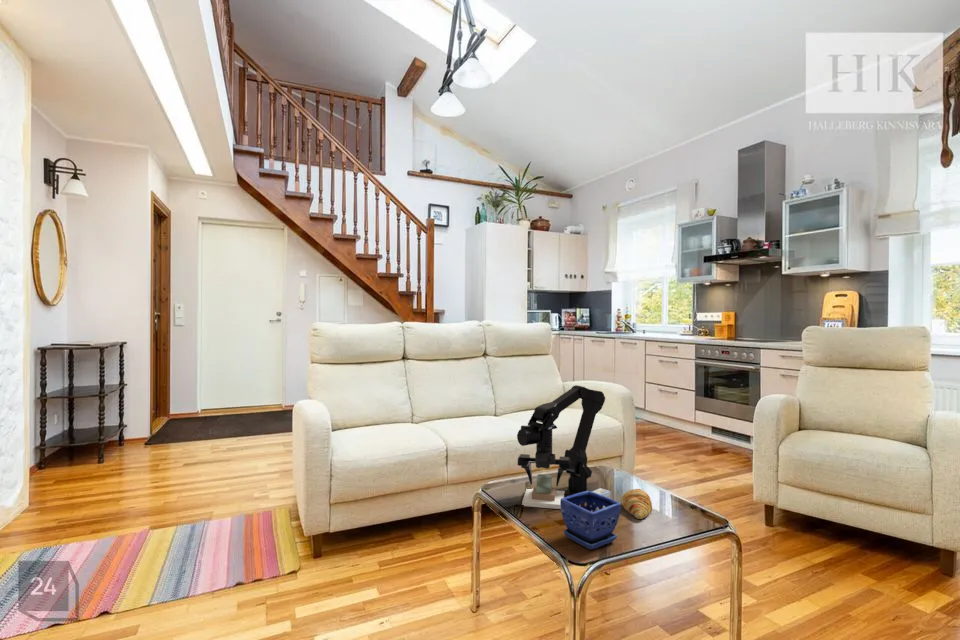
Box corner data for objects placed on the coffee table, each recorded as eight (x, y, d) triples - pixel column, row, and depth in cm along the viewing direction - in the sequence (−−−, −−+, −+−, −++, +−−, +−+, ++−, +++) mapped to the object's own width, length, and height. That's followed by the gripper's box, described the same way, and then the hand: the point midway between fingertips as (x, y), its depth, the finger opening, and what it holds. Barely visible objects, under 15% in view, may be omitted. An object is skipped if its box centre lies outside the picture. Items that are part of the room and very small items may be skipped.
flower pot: (622, 543, 143) (623, 502, 143) (591, 555, 136) (592, 512, 136) (588, 527, 154) (588, 489, 154) (558, 537, 147) (558, 498, 147)
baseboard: (564, 495, 182) (564, 485, 182) (562, 509, 168) (562, 499, 168) (526, 492, 185) (527, 482, 185) (522, 505, 171) (522, 495, 171)
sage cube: (551, 488, 179) (551, 475, 179) (550, 493, 174) (550, 479, 174) (537, 487, 180) (537, 474, 180) (536, 492, 175) (536, 478, 175)
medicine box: (599, 513, 165) (599, 487, 165) (611, 517, 162) (611, 490, 162) (586, 519, 160) (586, 493, 160) (598, 524, 157) (598, 496, 157)
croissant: (649, 533, 158) (661, 512, 157) (620, 516, 160) (632, 496, 159) (640, 507, 179) (651, 488, 178) (615, 492, 180) (626, 474, 179)
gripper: (515, 446, 171) (515, 490, 171) (569, 449, 167) (569, 495, 167) (519, 438, 182) (519, 480, 182) (570, 441, 178) (570, 484, 178)
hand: (544, 485), depth 177 cm, fingers open, 9 cm apart
